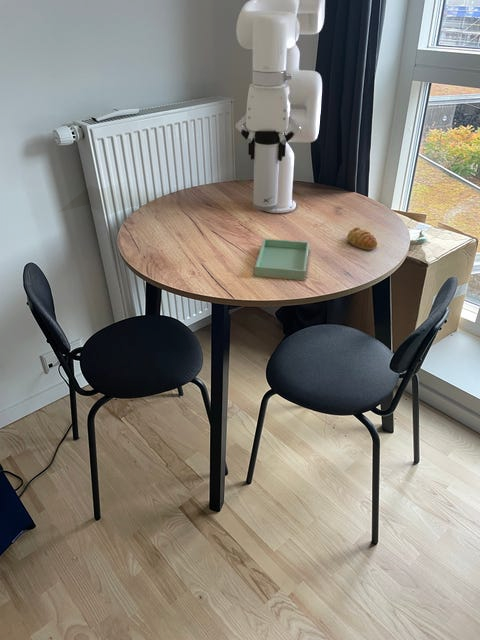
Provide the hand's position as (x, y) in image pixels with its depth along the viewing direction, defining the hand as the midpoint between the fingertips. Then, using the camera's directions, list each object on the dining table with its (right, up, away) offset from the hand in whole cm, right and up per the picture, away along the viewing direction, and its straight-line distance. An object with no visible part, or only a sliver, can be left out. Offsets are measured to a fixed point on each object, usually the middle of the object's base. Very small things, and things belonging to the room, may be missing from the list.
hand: (266, 158), depth 120 cm
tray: (+5, -24, +15) cm, 29 cm away
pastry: (+30, -17, +25) cm, 42 cm away
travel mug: (0, -10, +8) cm, 13 cm away
